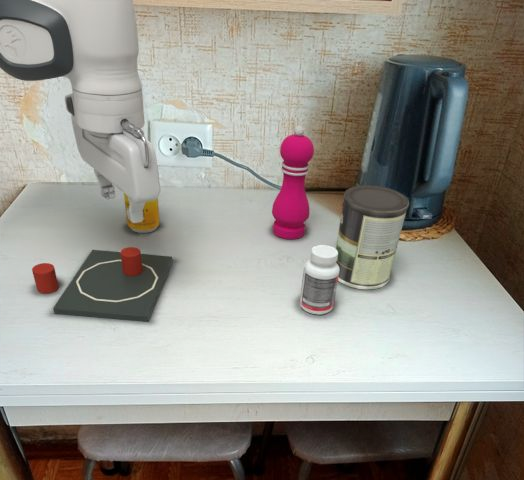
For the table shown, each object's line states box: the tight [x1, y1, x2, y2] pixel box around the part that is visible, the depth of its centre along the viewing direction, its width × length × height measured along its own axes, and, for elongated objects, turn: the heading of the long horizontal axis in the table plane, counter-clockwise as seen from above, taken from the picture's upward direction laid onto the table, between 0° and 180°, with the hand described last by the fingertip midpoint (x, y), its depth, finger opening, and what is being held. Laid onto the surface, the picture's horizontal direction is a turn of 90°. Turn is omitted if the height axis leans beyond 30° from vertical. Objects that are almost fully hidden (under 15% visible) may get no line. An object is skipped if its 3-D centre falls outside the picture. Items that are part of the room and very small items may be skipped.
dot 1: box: [31, 262, 60, 295], centre depth 79 cm, size 3×3×4 cm
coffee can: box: [335, 184, 410, 291], centre depth 85 cm, size 10×10×14 cm
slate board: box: [52, 249, 174, 323], centre depth 82 cm, size 14×18×1 cm
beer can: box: [123, 193, 161, 234], centre depth 94 cm, size 6×6×15 cm
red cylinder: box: [119, 246, 143, 276], centre depth 83 cm, size 3×3×4 cm
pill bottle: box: [299, 244, 340, 315], centre depth 78 cm, size 5×5×10 cm
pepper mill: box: [271, 125, 315, 240], centre depth 94 cm, size 7×7×20 cm
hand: (121, 208), depth 77 cm, fingers open, 8 cm apart
